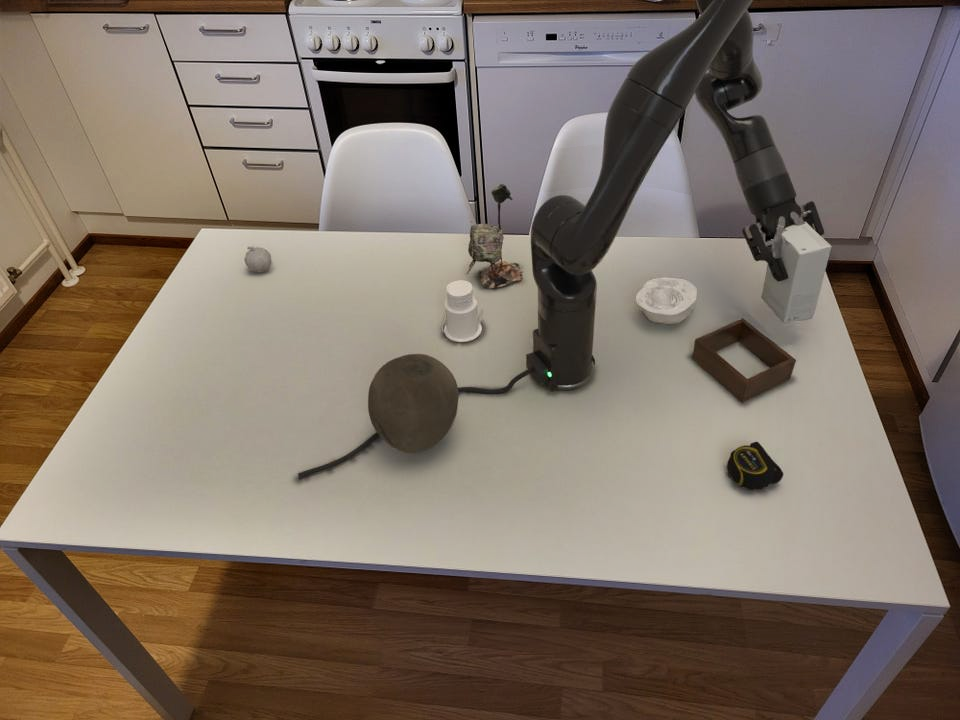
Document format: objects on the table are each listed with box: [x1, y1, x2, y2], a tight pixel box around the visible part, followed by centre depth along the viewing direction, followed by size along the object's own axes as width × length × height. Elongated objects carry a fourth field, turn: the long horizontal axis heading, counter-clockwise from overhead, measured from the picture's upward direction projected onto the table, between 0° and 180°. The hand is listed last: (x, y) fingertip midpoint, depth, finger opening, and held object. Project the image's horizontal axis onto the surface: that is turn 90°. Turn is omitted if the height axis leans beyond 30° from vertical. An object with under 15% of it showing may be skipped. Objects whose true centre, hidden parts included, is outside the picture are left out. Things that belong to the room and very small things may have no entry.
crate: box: [691, 317, 797, 404], centre depth 131 cm, size 11×13×4 cm
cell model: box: [635, 276, 698, 325], centre depth 141 cm, size 10×12×7 cm
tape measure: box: [726, 441, 784, 491], centre depth 114 cm, size 7×7×4 cm
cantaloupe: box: [367, 353, 459, 454], centre depth 120 cm, size 14×14×15 cm
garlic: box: [244, 246, 272, 273], centre depth 159 cm, size 6×5×5 cm
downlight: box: [440, 279, 484, 343], centre depth 140 cm, size 8×7×10 cm
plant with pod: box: [465, 182, 524, 289], centre depth 148 cm, size 8×11×20 cm
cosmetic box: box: [760, 222, 833, 325], centre depth 129 cm, size 8×6×15 cm
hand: (800, 272), depth 128 cm, fingers closed on cosmetic box, 7 cm apart
